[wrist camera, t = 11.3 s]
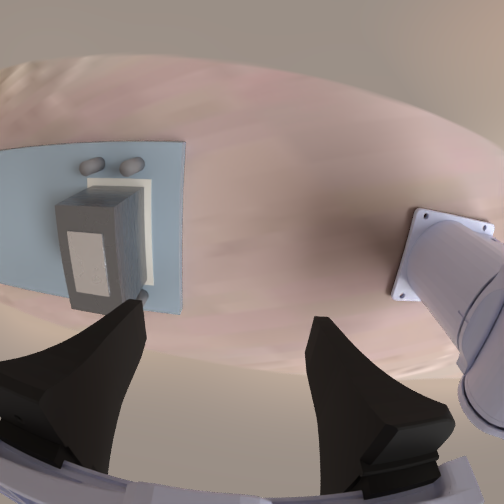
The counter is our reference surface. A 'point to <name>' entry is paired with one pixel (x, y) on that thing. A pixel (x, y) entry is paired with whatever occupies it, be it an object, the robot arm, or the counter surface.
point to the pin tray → (74, 181)
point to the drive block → (102, 246)
